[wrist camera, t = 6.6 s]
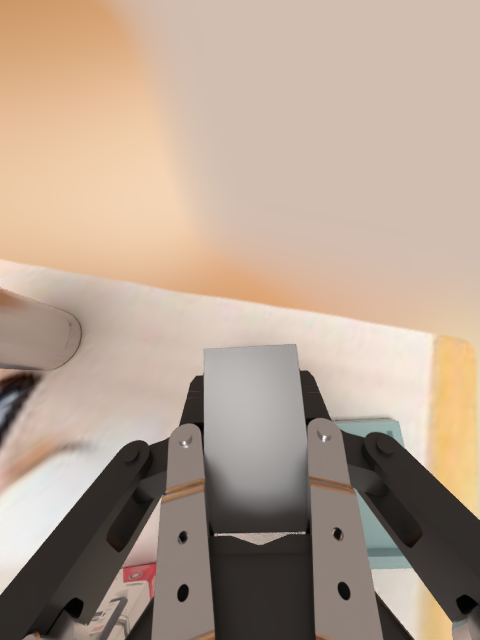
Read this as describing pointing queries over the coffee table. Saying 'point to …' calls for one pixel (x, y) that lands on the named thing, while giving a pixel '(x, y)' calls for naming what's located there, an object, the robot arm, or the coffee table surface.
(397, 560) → the tray
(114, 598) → the ink box
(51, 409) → the coffee table surface
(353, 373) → the coffee table surface
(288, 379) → the grey rectangular block
